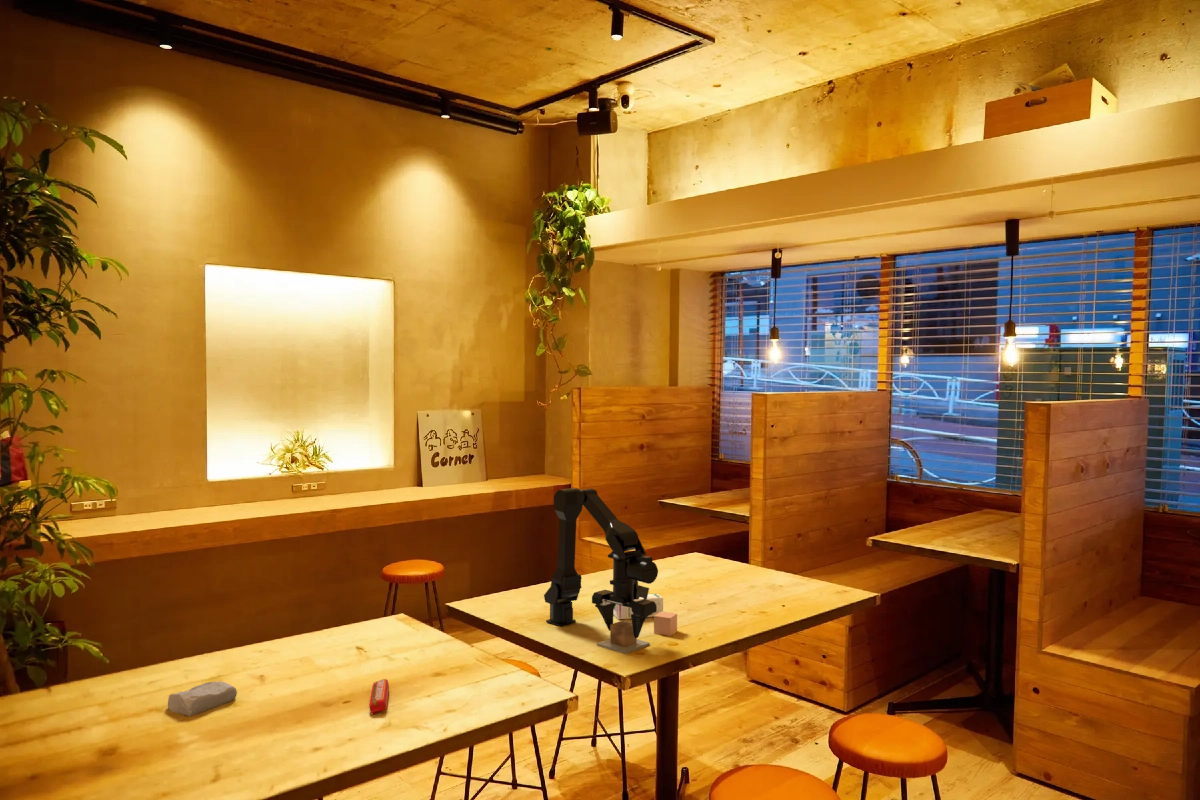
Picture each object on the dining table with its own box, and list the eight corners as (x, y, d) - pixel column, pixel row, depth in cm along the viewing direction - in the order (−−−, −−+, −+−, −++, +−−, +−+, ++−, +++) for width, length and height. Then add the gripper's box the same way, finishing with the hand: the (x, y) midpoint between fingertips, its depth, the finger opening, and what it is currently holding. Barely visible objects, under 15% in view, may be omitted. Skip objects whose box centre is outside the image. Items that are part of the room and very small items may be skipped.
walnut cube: (610, 643, 220) (610, 624, 219) (622, 638, 223) (622, 620, 223) (624, 647, 216) (624, 628, 216) (636, 642, 220) (636, 624, 220)
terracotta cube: (653, 633, 230) (654, 615, 230) (660, 628, 235) (661, 611, 235) (670, 635, 228) (670, 618, 228) (677, 631, 233) (677, 613, 232)
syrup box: (663, 597, 246) (617, 599, 243) (663, 616, 246) (616, 619, 243) (657, 593, 252) (612, 595, 248) (657, 612, 252) (611, 614, 248)
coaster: (597, 645, 219) (597, 643, 219) (621, 636, 227) (621, 634, 227) (625, 654, 213) (625, 651, 213) (649, 644, 220) (649, 642, 220)
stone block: (162, 717, 177) (190, 718, 172) (160, 694, 177) (187, 694, 172) (213, 701, 187) (240, 701, 182) (211, 679, 187) (238, 679, 182)
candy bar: (373, 689, 188) (373, 676, 188) (389, 688, 189) (389, 675, 189) (368, 717, 173) (368, 703, 173) (386, 716, 174) (386, 702, 173)
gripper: (669, 577, 219) (669, 634, 219) (617, 566, 231) (617, 620, 232) (643, 584, 211) (642, 644, 211) (590, 572, 223) (590, 629, 224)
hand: (623, 634), depth 220 cm, fingers open, 9 cm apart
